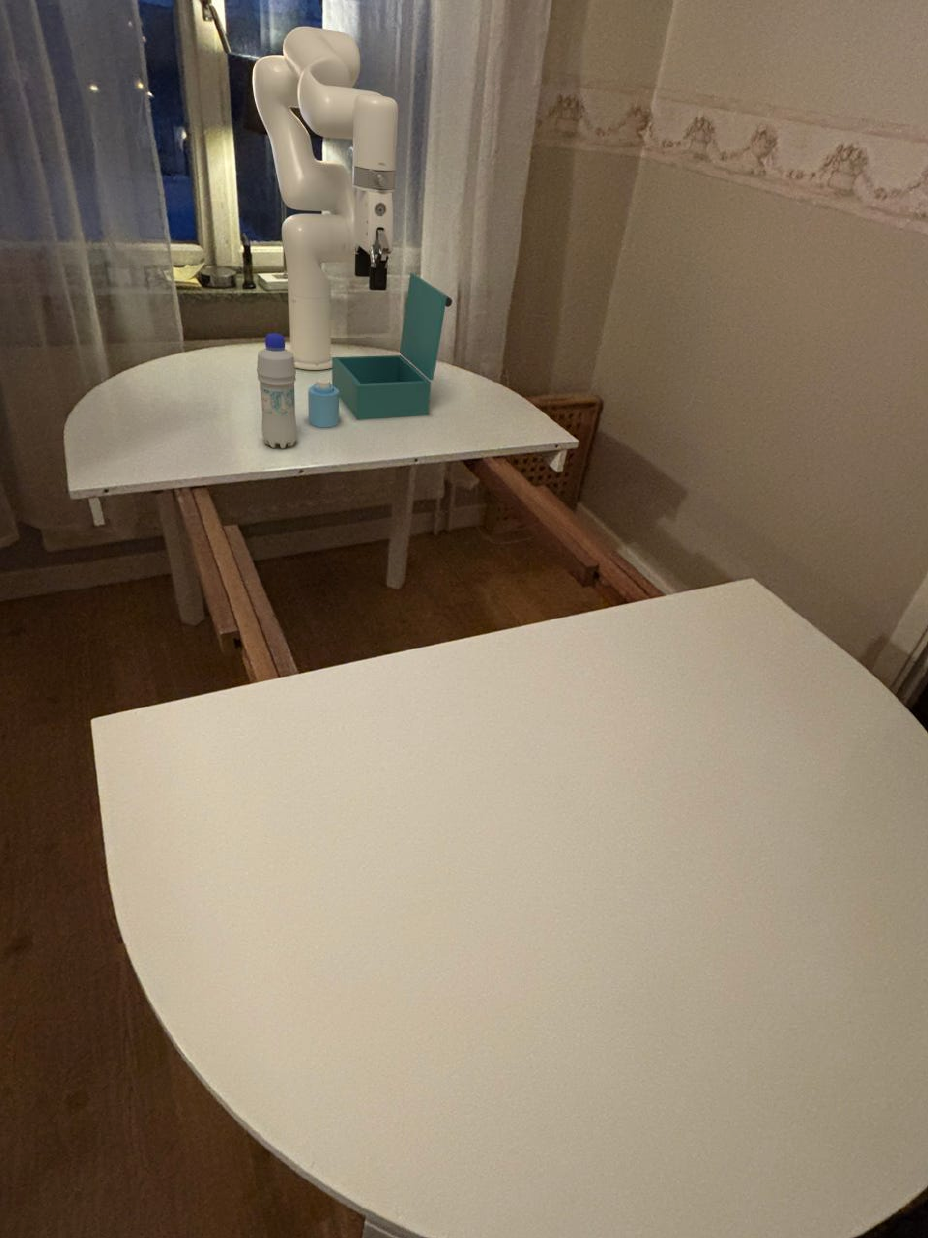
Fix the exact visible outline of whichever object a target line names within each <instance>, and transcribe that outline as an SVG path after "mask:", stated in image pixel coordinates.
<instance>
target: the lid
mask: <svg viewBox="0 0 928 1238" xmlns="http://www.w3.org/2000/svg"><path fill="white" fill-rule="evenodd" d="M408 280H409V281H408V288H407V295H406V302H405V309H404V318H403V325H402V332H401V340H400V347H399V354H400V355H402V356H403V357H404V358H405V359H406V360H407V361H408V362H409V363H410V364H411V365H413V366H414V367H415V368H416V369H417V370H418V371H419V372H420V373H421V374H422V375H423V376H425V377H426V378H427V379H428V380H429V381H434V377H435V371H436V365H437V359H438V353H439V347H440V340H441V334H442V329H443V328H442V327H443V322H444V316H445V311H446V310H445V309H446V308H450V307H451V306H452V305H453V299H452V298H451V297H450V296H448V295H446V294H445V293H444V292H442V291H441V290H439V289H438V288H436V287H435V286H433V285H431V284H430V283H429V282H427V281H426V280H425V279H423V278H422V277H420V276H418V275H417V274H415V273H413V272H410V273H409V279H408Z"/></svg>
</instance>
